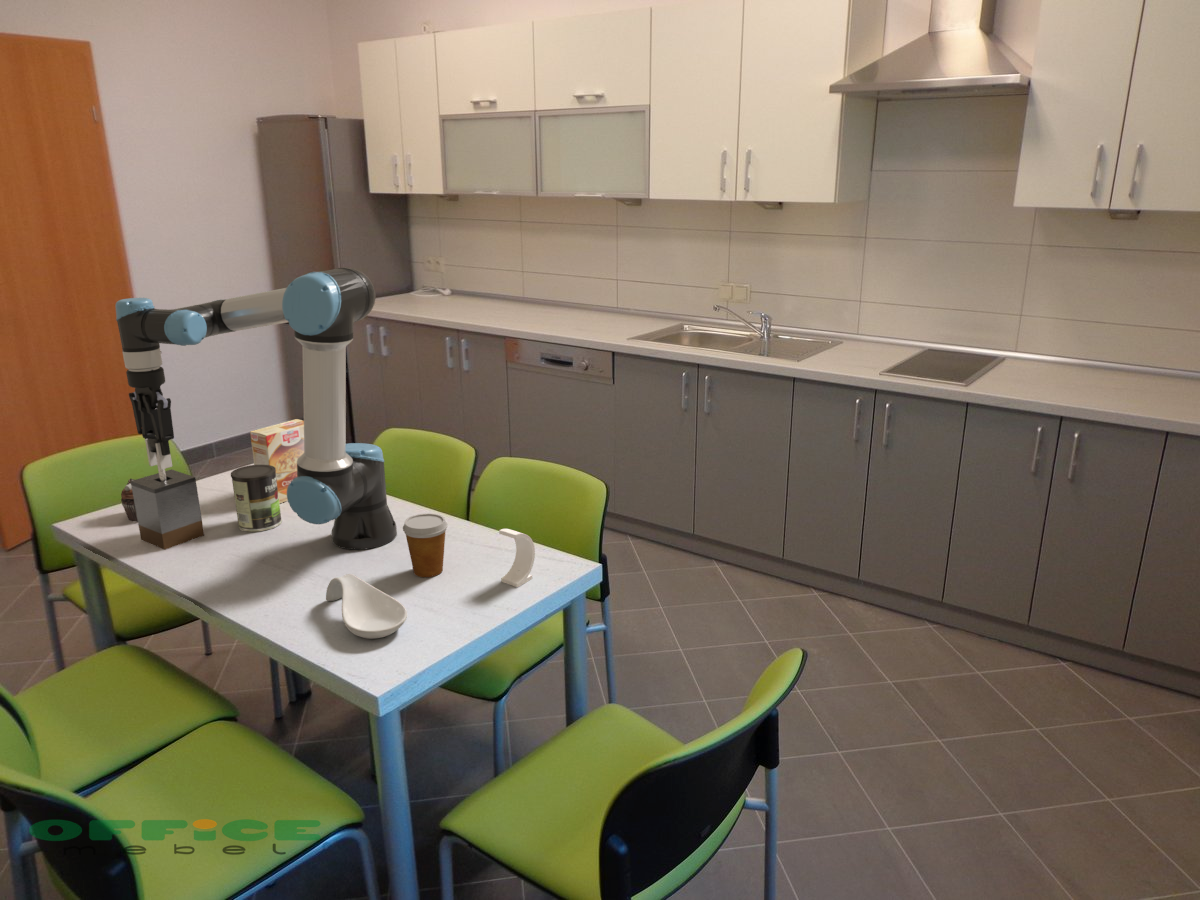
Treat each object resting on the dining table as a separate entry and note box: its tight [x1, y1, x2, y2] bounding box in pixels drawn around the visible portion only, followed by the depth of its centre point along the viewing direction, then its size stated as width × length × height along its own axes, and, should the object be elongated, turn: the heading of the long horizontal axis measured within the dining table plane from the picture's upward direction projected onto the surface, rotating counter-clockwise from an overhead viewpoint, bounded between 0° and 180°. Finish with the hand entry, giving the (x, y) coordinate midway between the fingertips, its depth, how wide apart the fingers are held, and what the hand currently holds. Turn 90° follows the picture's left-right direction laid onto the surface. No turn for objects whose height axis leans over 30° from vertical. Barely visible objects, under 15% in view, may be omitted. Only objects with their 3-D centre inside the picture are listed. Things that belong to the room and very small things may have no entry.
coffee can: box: [230, 464, 283, 533], centre depth 212 cm, size 10×10×14 cm
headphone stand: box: [499, 528, 536, 588], centre depth 183 cm, size 5×6×12 cm
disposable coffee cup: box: [402, 512, 449, 578], centre depth 187 cm, size 10×10×12 cm
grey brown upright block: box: [131, 468, 205, 551], centre depth 203 cm, size 10×10×15 cm
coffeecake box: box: [249, 418, 304, 505], centre depth 230 cm, size 15×7×20 cm, turn 147°
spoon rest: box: [325, 573, 408, 640], centre depth 167 cm, size 24×12×7 cm, turn 42°
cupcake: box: [120, 476, 147, 523], centre depth 217 cm, size 10×10×10 cm
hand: (160, 465), depth 200 cm, fingers closed on plunger, 4 cm apart
